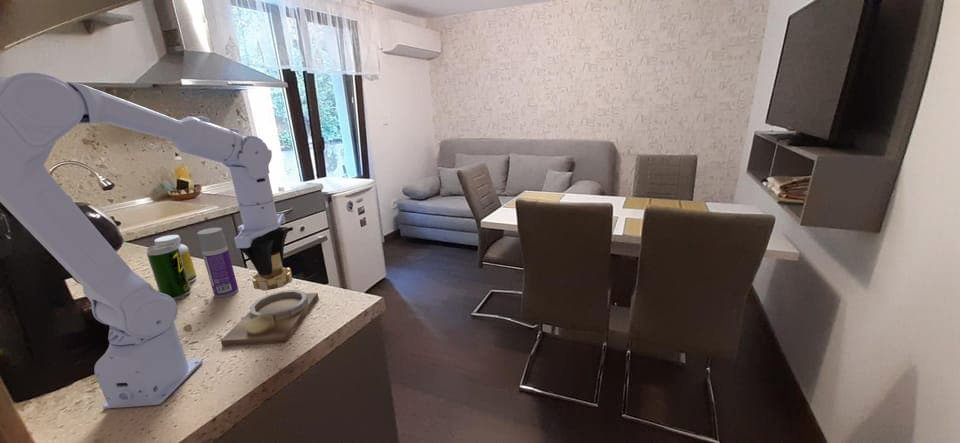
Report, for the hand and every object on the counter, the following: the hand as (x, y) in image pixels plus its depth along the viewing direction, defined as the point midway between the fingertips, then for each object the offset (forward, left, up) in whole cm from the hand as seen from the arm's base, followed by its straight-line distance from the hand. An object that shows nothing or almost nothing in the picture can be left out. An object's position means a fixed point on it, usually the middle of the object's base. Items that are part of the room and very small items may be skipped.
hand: (271, 269), depth 72 cm
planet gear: (0, 0, -3) cm, 3 cm away
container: (+10, +17, -10) cm, 22 cm away
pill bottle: (+17, +32, -10) cm, 38 cm away
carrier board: (-3, 0, -10) cm, 10 cm away
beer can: (+10, +28, -10) cm, 32 cm away
